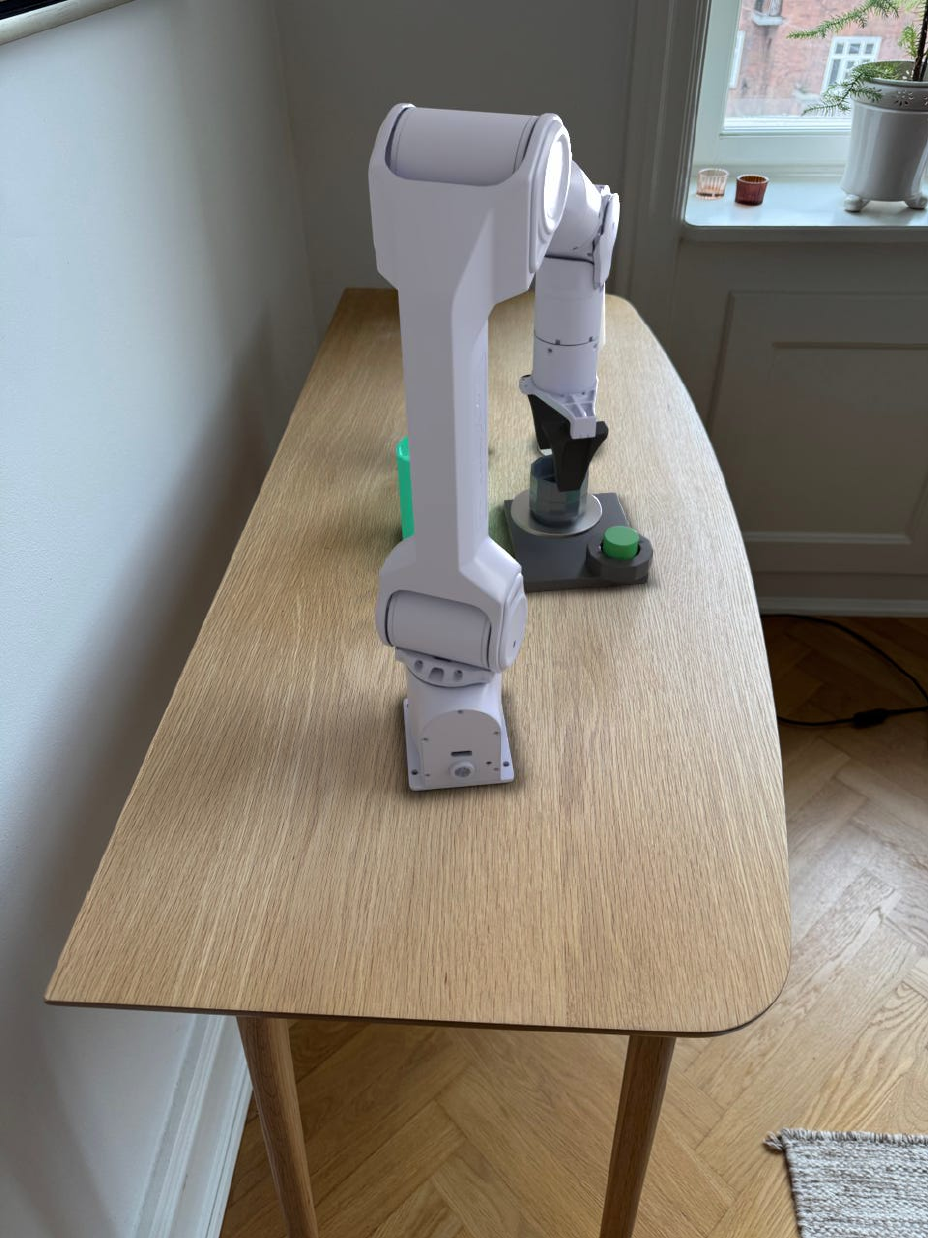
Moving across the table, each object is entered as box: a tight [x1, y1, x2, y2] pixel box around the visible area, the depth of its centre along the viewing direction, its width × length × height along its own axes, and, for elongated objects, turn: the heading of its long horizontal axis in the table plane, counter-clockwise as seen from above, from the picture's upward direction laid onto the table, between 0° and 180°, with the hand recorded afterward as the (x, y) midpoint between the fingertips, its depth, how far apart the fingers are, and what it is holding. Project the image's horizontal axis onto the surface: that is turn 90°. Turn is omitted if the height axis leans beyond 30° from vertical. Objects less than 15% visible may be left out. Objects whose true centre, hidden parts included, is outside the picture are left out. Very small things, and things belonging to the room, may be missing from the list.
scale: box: [503, 492, 655, 593], centre depth 91 cm, size 15×12×3 cm
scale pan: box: [511, 487, 602, 539], centre depth 91 cm, size 9×9×1 cm
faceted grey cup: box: [529, 454, 590, 522], centre depth 89 cm, size 6×6×4 cm
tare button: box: [603, 526, 639, 560], centre depth 86 cm, size 3×3×2 cm
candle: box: [395, 435, 414, 541], centre depth 89 cm, size 6×6×12 cm
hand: (558, 467), depth 88 cm, fingers open, 7 cm apart
